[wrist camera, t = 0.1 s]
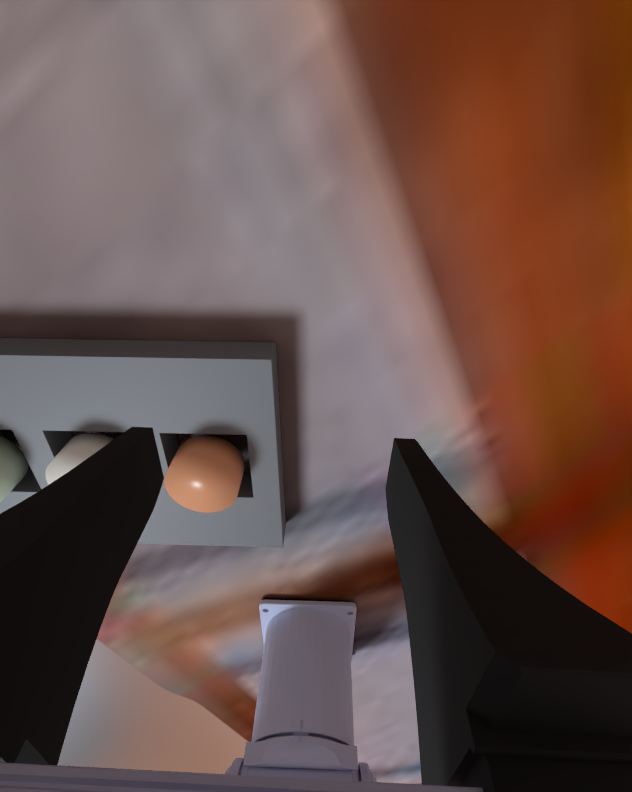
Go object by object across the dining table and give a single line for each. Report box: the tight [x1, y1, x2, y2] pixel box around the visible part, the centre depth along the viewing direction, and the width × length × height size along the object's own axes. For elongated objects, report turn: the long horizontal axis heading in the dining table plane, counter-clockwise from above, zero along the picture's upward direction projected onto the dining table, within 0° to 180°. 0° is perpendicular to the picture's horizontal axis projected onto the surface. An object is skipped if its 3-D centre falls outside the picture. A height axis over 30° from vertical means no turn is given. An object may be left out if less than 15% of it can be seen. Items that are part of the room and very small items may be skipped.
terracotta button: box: [164, 435, 245, 513], centre depth 23 cm, size 4×4×2 cm
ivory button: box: [45, 433, 114, 485], centre depth 23 cm, size 4×4×2 cm
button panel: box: [0, 338, 286, 548], centre depth 24 cm, size 14×21×2 cm, turn 90°
